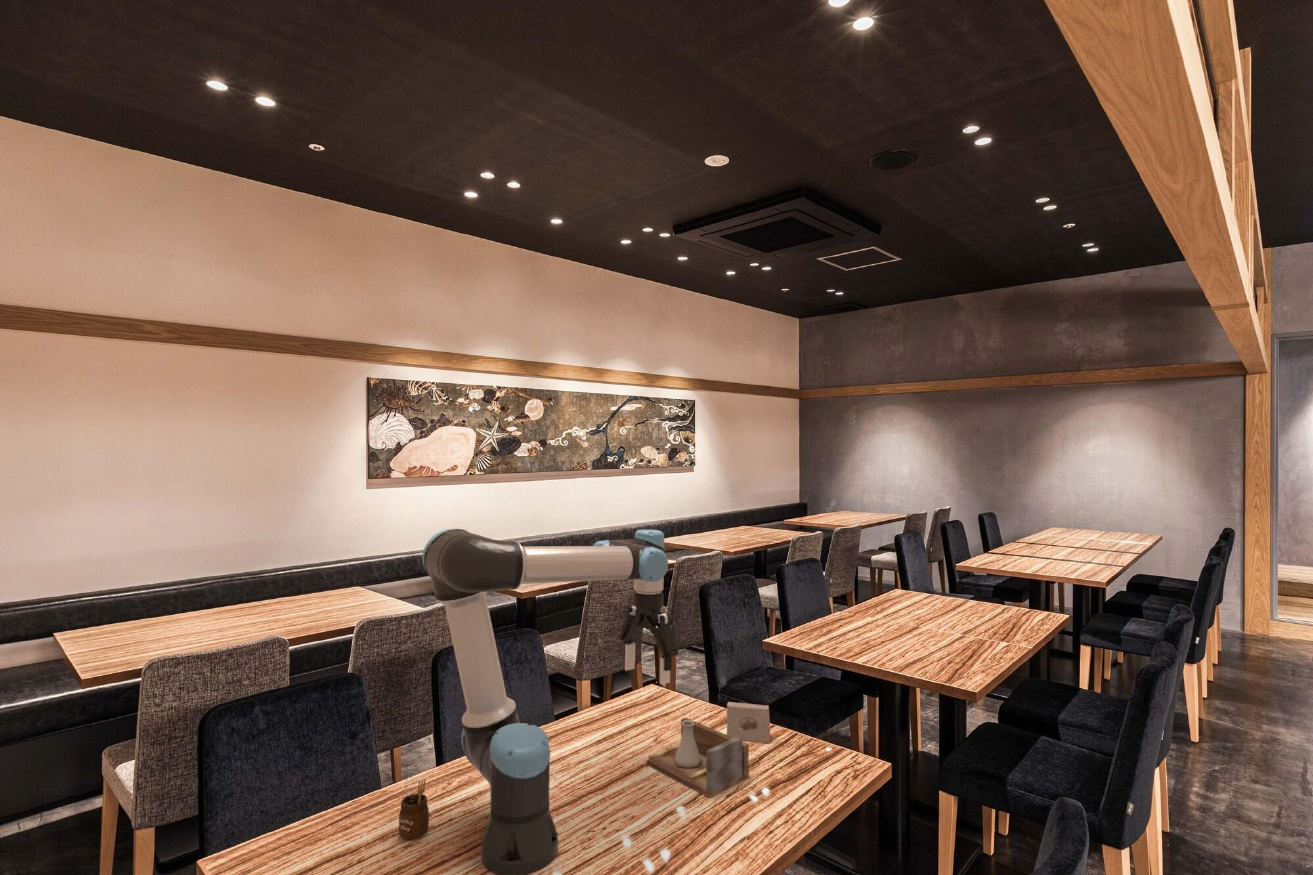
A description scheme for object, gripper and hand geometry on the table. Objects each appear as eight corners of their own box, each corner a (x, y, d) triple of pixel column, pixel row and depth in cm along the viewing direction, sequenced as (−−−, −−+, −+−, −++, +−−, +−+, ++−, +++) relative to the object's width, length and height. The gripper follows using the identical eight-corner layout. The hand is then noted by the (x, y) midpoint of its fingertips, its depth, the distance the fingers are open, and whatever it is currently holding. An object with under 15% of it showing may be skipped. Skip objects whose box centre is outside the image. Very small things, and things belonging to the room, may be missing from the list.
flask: (702, 756, 170) (702, 717, 170) (701, 769, 163) (701, 729, 163) (674, 755, 170) (674, 716, 171) (672, 768, 163) (672, 728, 163)
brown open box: (709, 798, 151) (709, 753, 152) (646, 764, 168) (646, 724, 168) (748, 777, 161) (748, 735, 161) (685, 748, 177) (685, 710, 177)
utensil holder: (418, 821, 142) (419, 765, 143) (435, 832, 138) (435, 774, 139) (393, 833, 138) (393, 776, 138) (409, 845, 134) (409, 785, 134)
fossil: (726, 740, 182) (726, 705, 182) (727, 734, 186) (727, 700, 186) (770, 744, 180) (769, 709, 180) (770, 738, 183) (770, 704, 183)
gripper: (693, 597, 159) (692, 686, 158) (629, 582, 178) (627, 661, 177) (671, 601, 154) (669, 692, 153) (607, 585, 173) (605, 666, 172)
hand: (646, 676), depth 165 cm, fingers open, 13 cm apart
